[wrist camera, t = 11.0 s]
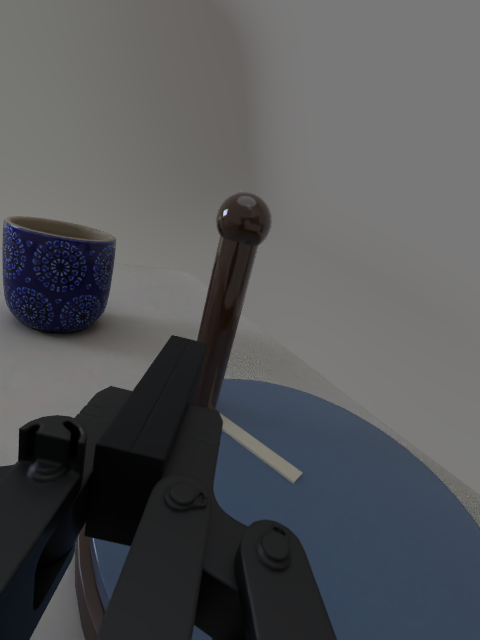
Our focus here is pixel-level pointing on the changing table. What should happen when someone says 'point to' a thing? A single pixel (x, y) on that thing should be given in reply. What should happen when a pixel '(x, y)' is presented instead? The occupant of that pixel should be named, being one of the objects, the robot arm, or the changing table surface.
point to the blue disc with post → (326, 482)
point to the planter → (56, 273)
